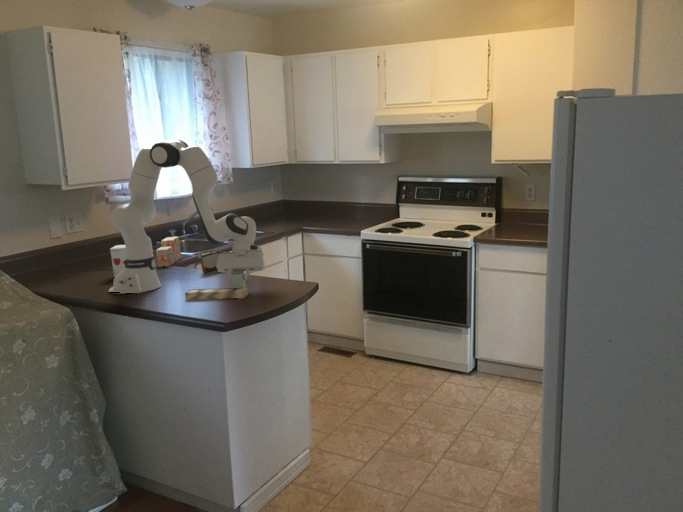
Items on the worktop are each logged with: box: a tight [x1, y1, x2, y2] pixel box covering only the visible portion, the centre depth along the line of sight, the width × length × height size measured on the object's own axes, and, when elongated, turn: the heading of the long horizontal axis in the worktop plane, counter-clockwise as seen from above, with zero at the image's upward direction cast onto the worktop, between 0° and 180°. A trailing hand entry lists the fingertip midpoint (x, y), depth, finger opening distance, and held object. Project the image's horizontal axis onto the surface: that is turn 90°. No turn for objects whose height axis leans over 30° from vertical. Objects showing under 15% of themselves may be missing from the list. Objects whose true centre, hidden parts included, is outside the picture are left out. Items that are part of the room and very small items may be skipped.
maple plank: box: [184, 287, 249, 301], centre depth 248 cm, size 25×5×3 cm, turn 82°
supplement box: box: [109, 244, 127, 278], centre depth 297 cm, size 9×9×15 cm
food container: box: [197, 249, 222, 275], centre depth 294 cm, size 12×6×10 cm, turn 141°
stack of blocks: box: [155, 236, 182, 268], centre depth 322 cm, size 21×6×12 cm, turn 178°
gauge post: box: [231, 270, 247, 288], centre depth 252 cm, size 4×4×8 cm
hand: (238, 279), depth 251 cm, fingers closed on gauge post, 4 cm apart
